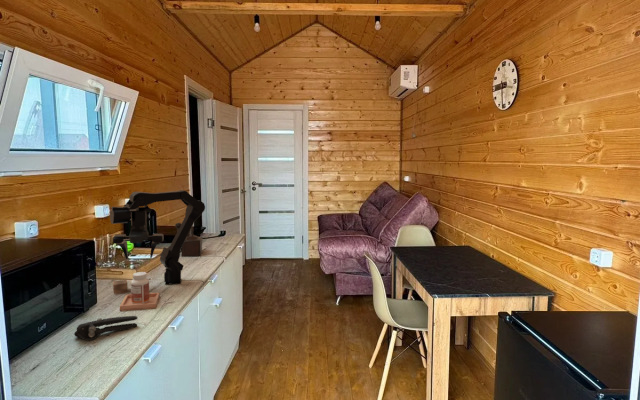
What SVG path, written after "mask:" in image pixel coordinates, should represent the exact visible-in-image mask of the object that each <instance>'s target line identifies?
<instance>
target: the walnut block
mask: <svg viewBox="0 0 640 400" xmlns="http://www.w3.org/2000/svg"><path fill="white" fill-rule="evenodd" d="M112 289H113V290H112V291H113V295H118V294H124V293H125V294H126V293H128V292H129V290H128V281H127V279H122V280H121V279H120V280H113V281H112Z"/></svg>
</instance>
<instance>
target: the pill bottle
mask: <svg viewBox="0 0 640 400" xmlns="http://www.w3.org/2000/svg"><path fill="white" fill-rule="evenodd" d="M147 274H148V273H147V272H145V271H138V272H134V273H132V277H133V278H132V280H131V282H130V290H131V291H130V292H131V293H130V294H131V301H132V303H133V304H144V303H147V302H148V301H149V293H150V282H149V281H150V280H149V278H147Z"/></svg>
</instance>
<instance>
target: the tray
mask: <svg viewBox="0 0 640 400" xmlns="http://www.w3.org/2000/svg"><path fill="white" fill-rule="evenodd" d="M159 300H160V292H149V301H148V302H147V303H144V304H133V303H132V301H131V293H130V294H125V296H124V298H123V300H122V302H121V303H120V305H119V311H120V312H123V311H124V312H125V311H135V310H136V311H137V310H139V311H140V310H149V309H157V305H158V302H159Z"/></svg>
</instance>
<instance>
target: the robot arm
mask: <svg viewBox="0 0 640 400" xmlns="http://www.w3.org/2000/svg"><path fill="white" fill-rule="evenodd" d="M128 198H129V200H127V202H126V203H125V205H124V206H111V210H110V214H109V220H110V224H112V225H115V224H128V222H131V224H130V225H131V228H130V231H129V235H127V234H126V233H125V234H124V233H122V234H117V233H116V234H115V236H113V237H112V244H116V246H119V247H120V248H121V250H122V253H124V256H125V259H126V260H128V259H129V249H128V242H129V243H130V244H134V243H135V244H137V243H138V244H142V243H143V242H144V241H152V242H151V247H150V255H149V257H150V259H153V255H154V252H155V249H156V247H157V245H160V243H163V242H164V240H165V239H164V234H163V233H153V234H152V235H149V230H148V229H147V212H152V208H150V206H149V205H152V204H155V203H159V202H160V203H161V202H168V201H177V200H179V201H180V200H181V202H182V203H183V204H184V205H186V208H185V216H184V218H183V220H182V222H181V226H180V228H179V230H178V231H177V232H176V234H175V236H174V238H173V240H172V241H171V243H170V245H169V246H168V247H165V246H164V247H163V249H162V252H161V253H160V254H159V262H160V263H161V264H162V265H163V266H164V268H165V271H164V273H163V276H164V277H163V278H164V279H163V281H164V282H163V283H164V285H166V286H167V285H180V284H181V285H182V270H183V269H184V265H183V264H182V263H181V262H180V261H179V260H180V256H181V250H182V245H183V243H184V241H185V239H186V237H188V236H189V233H190V232H191V231H190V230H191V227H194V226H193V225H194V223H195V221H197V219H199V218H200V217H201V216H202V214H204V212H205V209H206V205H205V203H204V202H203V201H201V200H199V199H197V198H195V197H194V196H193V195H191V194H190V193H189V192H188V191H187V190H183V189H180V190H174V191H173V190H172V191H161V192H147V191H146V192H145V191H133V192H131V194H129V197H128Z"/></svg>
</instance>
